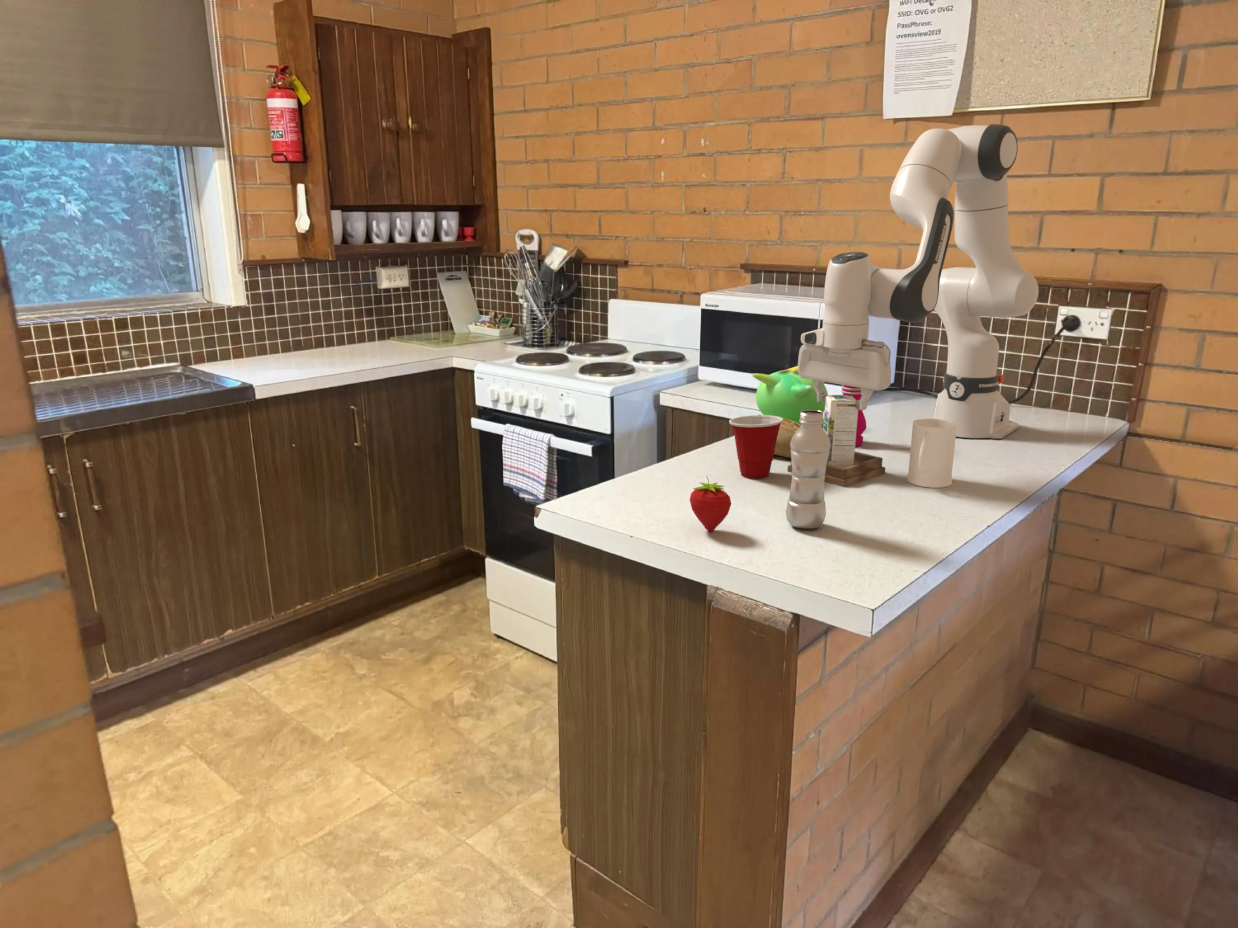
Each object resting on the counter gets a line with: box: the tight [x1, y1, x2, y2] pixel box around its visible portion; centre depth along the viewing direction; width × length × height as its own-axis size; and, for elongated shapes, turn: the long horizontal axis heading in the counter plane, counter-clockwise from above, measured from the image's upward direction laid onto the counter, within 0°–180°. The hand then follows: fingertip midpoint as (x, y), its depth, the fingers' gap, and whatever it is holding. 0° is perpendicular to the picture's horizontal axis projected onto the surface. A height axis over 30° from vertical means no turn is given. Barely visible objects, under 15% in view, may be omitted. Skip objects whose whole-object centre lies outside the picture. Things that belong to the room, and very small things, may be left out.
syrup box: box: [822, 394, 858, 468], centre depth 170 cm, size 6×6×14 cm
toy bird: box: [751, 365, 828, 425], centre depth 210 cm, size 18×17×15 cm
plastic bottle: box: [785, 410, 831, 530], centre depth 139 cm, size 6×7×20 cm
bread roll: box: [774, 419, 801, 459], centre depth 185 cm, size 10×15×8 cm, turn 56°
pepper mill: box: [841, 385, 867, 448], centre depth 191 cm, size 7×7×20 cm
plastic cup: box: [728, 414, 783, 480], centre depth 169 cm, size 11×11×12 cm
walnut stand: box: [787, 451, 886, 488], centre depth 172 cm, size 14×14×3 cm
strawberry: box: [689, 475, 732, 532], centre depth 139 cm, size 6×8×10 cm
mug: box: [906, 417, 957, 489], centre depth 163 cm, size 12×8×12 cm
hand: (841, 405), depth 168 cm, fingers open, 8 cm apart
